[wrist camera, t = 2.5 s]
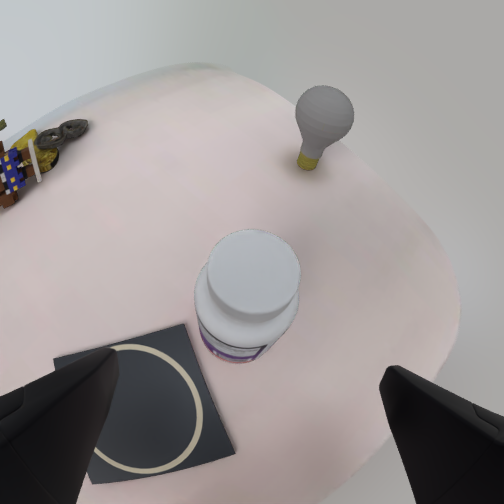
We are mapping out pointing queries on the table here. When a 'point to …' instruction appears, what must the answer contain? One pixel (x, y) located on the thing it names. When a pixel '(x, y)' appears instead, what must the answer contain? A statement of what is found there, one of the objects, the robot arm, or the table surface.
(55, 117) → the table surface
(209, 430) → the dark square coaster
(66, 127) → the corroded twin loop
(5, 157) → the figurine
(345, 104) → the light bulb
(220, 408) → the table surface
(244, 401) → the table surface
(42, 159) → the decorative item
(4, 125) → the toy
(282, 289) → the pill bottle
